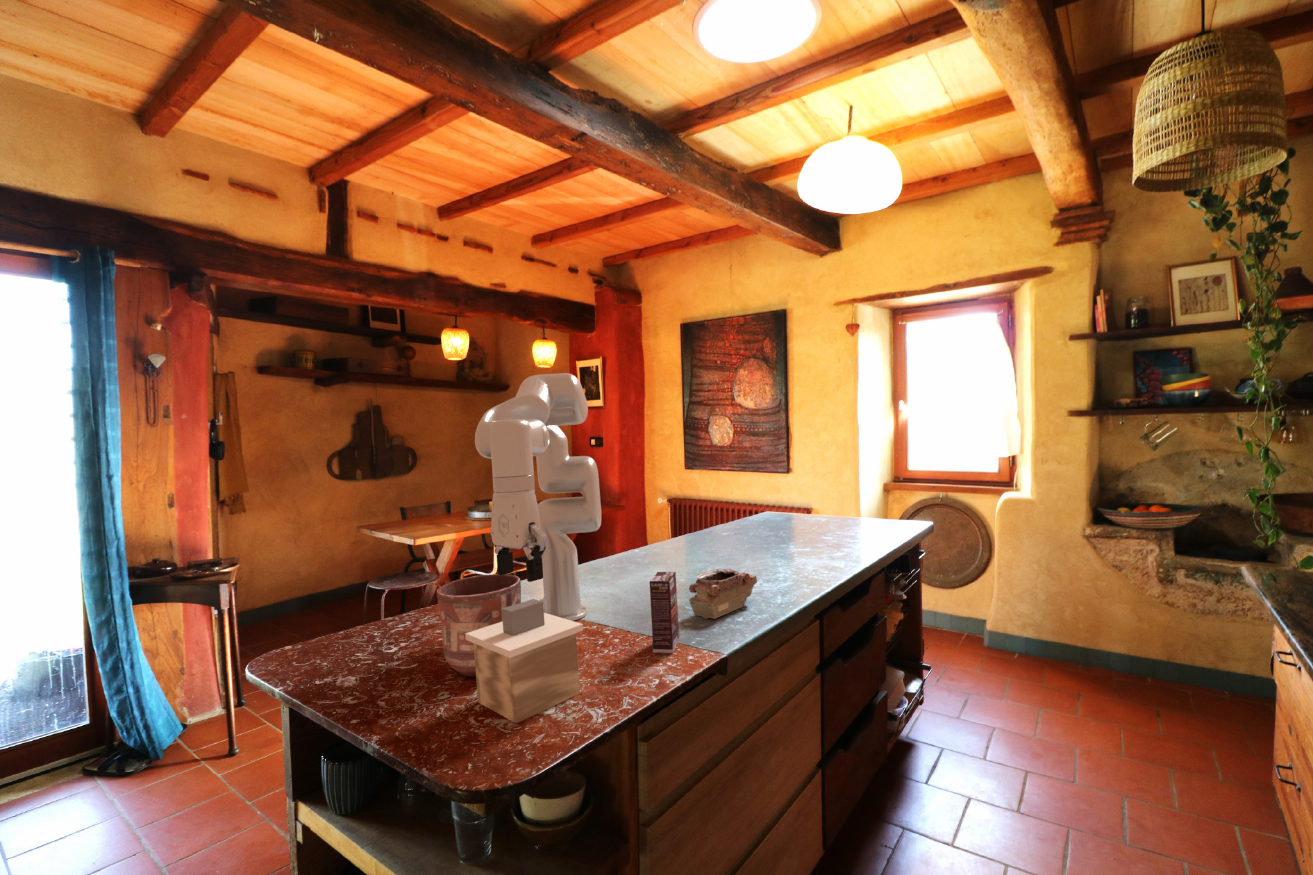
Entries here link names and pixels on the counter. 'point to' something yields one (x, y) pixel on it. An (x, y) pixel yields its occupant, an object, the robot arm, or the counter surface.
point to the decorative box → (720, 592)
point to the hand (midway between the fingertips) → (520, 576)
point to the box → (527, 678)
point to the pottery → (472, 613)
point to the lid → (523, 629)
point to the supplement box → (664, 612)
